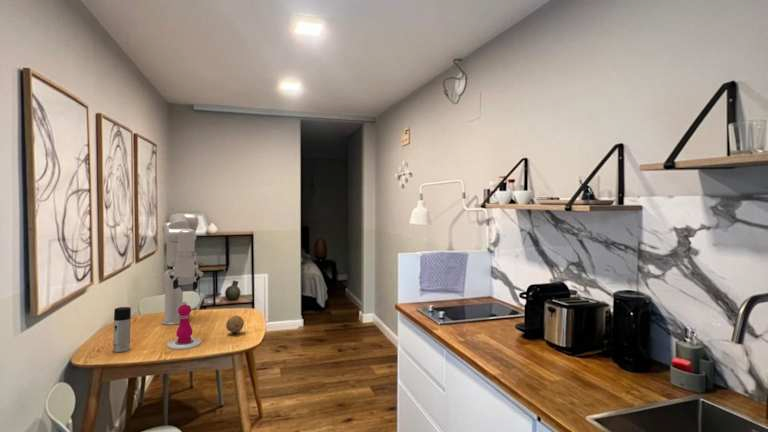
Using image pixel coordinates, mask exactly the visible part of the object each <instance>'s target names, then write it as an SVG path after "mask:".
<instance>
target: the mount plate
mask: <svg viewBox="0 0 768 432" xmlns="http://www.w3.org/2000/svg"><path fill="white" fill-rule="evenodd" d="M177 339H178V338H176V339H173V340H171V341H168V342H167V348H168V349H169V350H174V351H180V350H181V351H183V350H190V349H193V348H197V347H198V346H201V344H202V340H201V339H200V338H198V337H191V342H189V343H184V344H180V343H178V342H177Z"/></svg>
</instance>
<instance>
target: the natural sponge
mask: <svg viewBox="0 0 768 432" xmlns="http://www.w3.org/2000/svg"><path fill="white" fill-rule="evenodd" d="M244 325H245V321H244V319H243V317H241V316H240V315H234V316H231V317H229V318H228V319H227V322H226V325H225V326H226V330H227V331H228V332H230V333H232V334H233V333H237V334H239V333H240V332H241V331H242V329H243V327H244Z"/></svg>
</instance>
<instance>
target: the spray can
mask: <svg viewBox="0 0 768 432" xmlns="http://www.w3.org/2000/svg"><path fill="white" fill-rule="evenodd" d="M131 309H132V307H130V306H122V307H121V306H120V307H116V308H114V312H113V337H112V338H113V342H112V343H113V344H112V345H113V346H112V347H113V348H112V351H113V353H124V352H127V351H129V350H130V347H131V346H130V345H131V313H132V312H131Z"/></svg>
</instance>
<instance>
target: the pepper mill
mask: <svg viewBox="0 0 768 432" xmlns="http://www.w3.org/2000/svg"><path fill="white" fill-rule="evenodd" d="M187 303H188V302H186V301H183V305H182V306H180V307H179V308H178V313H179V314H180V315H179V318H180V324H178V327H177V329H176V337H177V338H176V339H177V342H178V343H180V344H184V343H189V342H191V338H192V337H191V336H192V335H193V328H192V326H191V324H190V318H191V312H192V306H190V305H188V304H187Z"/></svg>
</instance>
